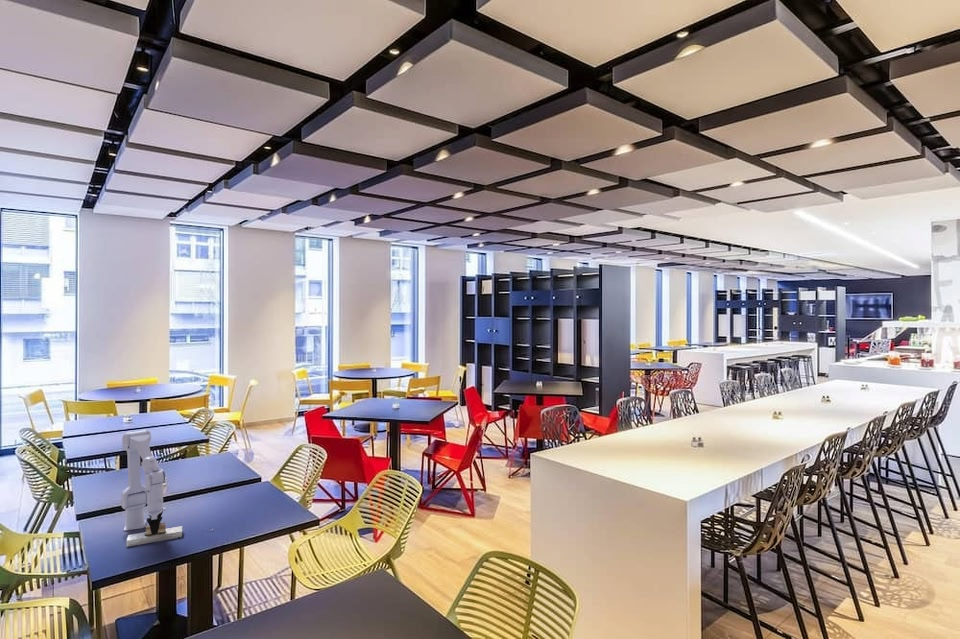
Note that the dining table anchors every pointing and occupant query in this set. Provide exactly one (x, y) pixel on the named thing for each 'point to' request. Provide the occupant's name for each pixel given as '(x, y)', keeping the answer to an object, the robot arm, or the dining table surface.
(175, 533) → the grey plate with holes
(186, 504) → the dining table surface
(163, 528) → the clip
